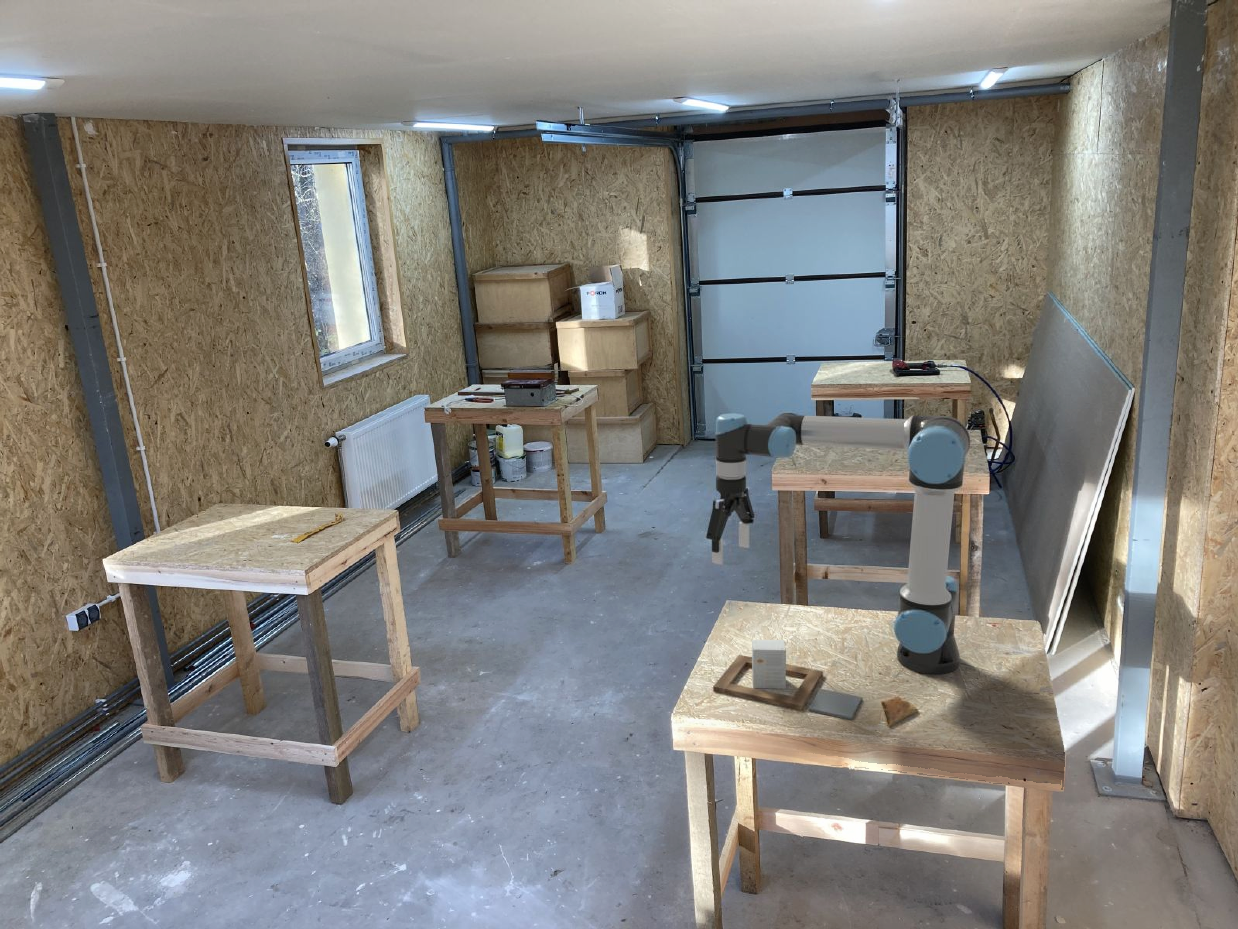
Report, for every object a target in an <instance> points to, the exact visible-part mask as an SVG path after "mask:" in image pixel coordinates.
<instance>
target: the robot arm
mask: <svg viewBox="0 0 1238 929" xmlns="http://www.w3.org/2000/svg"><path fill="white" fill-rule="evenodd" d="M714 435H715V475H716V477H715V490H716V492H718V493H719V494H720V496H719V499H713V501H712V509H711V513H710V514H711V515H710V519H709V523H708V527H707V531H706V536H705V538H706V539H707V540H711V562H712V564H716V565H721V566H722V565H723V564H724V552H723V551H724V545H723V544H724V542H723V541H724V539H723V538H722V536H723V533H724V532H725V528H726V524H727V522H728V519H729V518H730V517H731V516H732V513H734V512H735V513H736V515H737V517H738V519H739V521H740V522H738V547H741V548H744V549H745V548H746V549H749V548H750V524H753V523H754V522H755V521H754V520H755V512H754V509H753V506H752V503H751V502H752V501H751V499H750V496H749V494H750V493H749V488H748V487H747V477H746V474H747V455H749V456H759V457H770V458H775V459H779V458H783V459H784V458H785V459H787V458H791V457H792V456H793V455H794V451H795V450H796V446H815V447H816V446H819V447H832V448H833V447H834V448H848V449H849V448H851V449H852V448H853V449H871V450H885V451H886V450H888V451H905V452H906V453H907V463H908V466H909V474H908V483H909V484H910V486H912V488H914V495H913V497H914V500H913V508H912V509H913V510H912V511H913V512H912V522H911V532H910V533H911V536H910V544H909V545H910V546H909V557H908V558H909V559H908V568H907V569H908V570H907V571H908V572H907V581H906V582H907V583H906V584H904V586H901V588H900V590H899V599H898V611H897V616H896V618H895V620H894V622H893V631H894V634H895V637H896V639H897V641H898V642H899V643H898V644H899V645H898V647H897V650H896V651H897V652H896V659H897V661H898V662H899V663H900V664H901V665H902V666H903V667H905V668H907V669H909V670H911V671H914V672H918V673H921V674H929V675H942V674H949V673H952V672H954V671H955V670H957V669H958V668H959V666H960V660H961V659H960V658H961V655H960V651H959V648H958V644H957V641H956V637H955V624H956V611H957V610H956V607H957V597H958V596H957V595H958V594H957V593H958V592H959V589H958V582H957V580H956V579H955V578H954V577H952V576H950V575H948V564H949V563H948V562H949V556H950V543H951V535H952V534H951V532H952V531H951V530H952V522H953V511H954V504H955V503H954V501H955V493H956V492H957V491H958V490H960V489H961V488H962V487H963V481H964V470H965V464H966V463H965V462H966V456H967V454H968V452H969V449H970V447H971V435H970V433H969V430H968V429H967V427H966V426H965V424H964V423H962V422H961V421H960V420H958V419H957V418H955V417H951V416H947V415H914V414H913V415H911V416H910V417H909V418H882V417H881V418H877V417H853V416H851V417H849V416H828V415H827V416H825V415H823V416H822V415H821V416H820V415H803V414H802V415H800V414H798V413H796V412H794V411H786V412H785V411H784V412H782V413H779V414H778V415H777V416H775V418H774V419H772V420H771V421H769V422H768V423H767V424H764V425H763V424H751V423H748V421H747V417H746V415H744V414H743V413H742V414H741V413H740V414H739V413H737V412H733V413H723V414H721V415H719V416H717V418H716V420H715V433H714Z"/></svg>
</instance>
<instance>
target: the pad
mask: <svg viewBox="0 0 1238 929" xmlns="http://www.w3.org/2000/svg"><path fill="white" fill-rule="evenodd" d="M862 701H863V696H859V695H855V694H850V693H845V692H844V693H843V692H839V691H834V690H830V689H825V688H820V689H819V690H818V692H817V693H816V695H815V696H814V699H813V700H812V702H811V703H810V705H809V706H808V711H809V712H812V713H813V712H814V713H818V714H823V715H827V716H831V717H832V716H833V717H836V718H841V719H846V720H850V721H852V720H853V718H854V717H855V714H856V712H857V710H858V708H859V707H860V704H861V702H862Z"/></svg>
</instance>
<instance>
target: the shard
mask: <svg viewBox="0 0 1238 929" xmlns="http://www.w3.org/2000/svg"><path fill="white" fill-rule="evenodd" d="M880 706H881V709H882V712H883V716H884V719H885V723H886V724H887V726H888V728H891V726H893V725H895V724H896V723H898V722H900V721H901V720H903V719H904V718H907V717H909V716H912V715H913V714H916V713H917V712H918V711H919V709H918V708H917V707H916V706H915V705H913V704H912V703H910V702H909V701H906V700H904V699H902V698H901V697H899V696H893V697H891V698H890V699H886V700H882V701H880Z"/></svg>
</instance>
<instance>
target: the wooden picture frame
mask: <svg viewBox="0 0 1238 929" xmlns="http://www.w3.org/2000/svg"><path fill="white" fill-rule="evenodd" d="M747 667H748V668H752V656H747V655H743V654H742V655H741V654H738V655H737V656H736V658H735V659H734V660H733V662H732V663H731V664H730V665H729V667H727V669H725V671H724V672H723V674H722V675H721V676H720V677H719V678H718V679H717V681H716V682H715V684H714V685H713V687H712V688H713V689H712V691H713V692H717V693H722V694H727V695H730V696H731V695H732V696H735V697H740V698H744V699H749V700H754V701H758V702H763V703H766V704H767V703H768V704H772V705H776V706H780V707H786V708H790V709H794V710H799V711H803V709H804V707H805V705H806V704H807V702H808V700H809V699H810V697H811V696H812V694H813V692H814V691H815V689H816V687H817V686H818V685H819V682H821V680H822V678H823V676H824V671H823V670H818V669H813V668H809V667H803V666H798V665H793V664H788V663H786V676H787V675H788V676H791V677H792V676H793V677H797V678H802V679H803V680H802V682H801V684H800V685H799V687H798V688H797V690H796V691H795V693H794V695H793V696H791V695H787V694H781V693H776V692H771V691H767V690H763V689H760V688H752V687H748V686H743V685H739V684H734V682H735V681H736V680H737V679H738V678H739V676H740V675H741V673H742V672H744V670H745V668H747Z"/></svg>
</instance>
